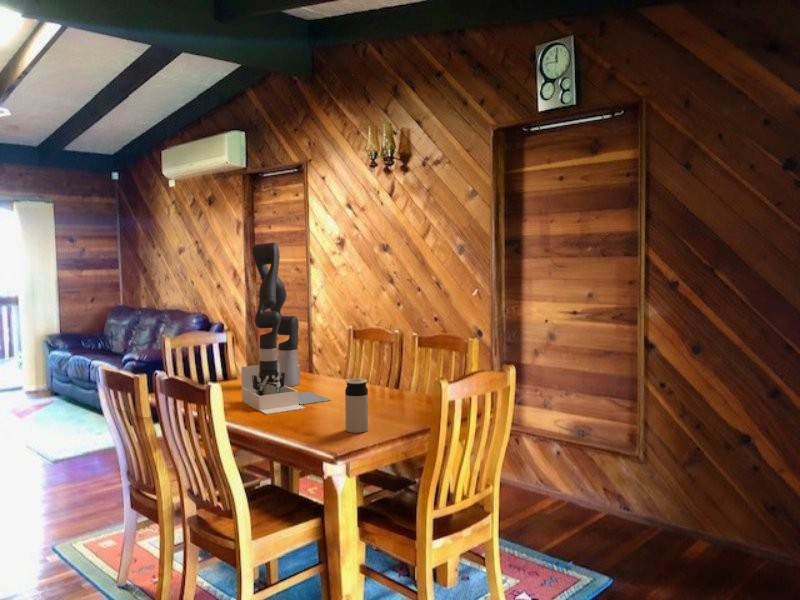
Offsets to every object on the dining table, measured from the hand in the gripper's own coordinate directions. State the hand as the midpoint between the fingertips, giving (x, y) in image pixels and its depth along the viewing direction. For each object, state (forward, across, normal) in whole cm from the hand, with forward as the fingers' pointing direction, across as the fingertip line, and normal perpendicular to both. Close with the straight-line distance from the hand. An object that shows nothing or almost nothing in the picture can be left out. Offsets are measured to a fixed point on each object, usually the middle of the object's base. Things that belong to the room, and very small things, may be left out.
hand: (268, 398), depth 271 cm
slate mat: (+2, -17, 0) cm, 17 cm away
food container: (+3, -1, 0) cm, 3 cm away
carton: (+2, -1, +3) cm, 4 cm away
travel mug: (+3, -10, +57) cm, 58 cm away
